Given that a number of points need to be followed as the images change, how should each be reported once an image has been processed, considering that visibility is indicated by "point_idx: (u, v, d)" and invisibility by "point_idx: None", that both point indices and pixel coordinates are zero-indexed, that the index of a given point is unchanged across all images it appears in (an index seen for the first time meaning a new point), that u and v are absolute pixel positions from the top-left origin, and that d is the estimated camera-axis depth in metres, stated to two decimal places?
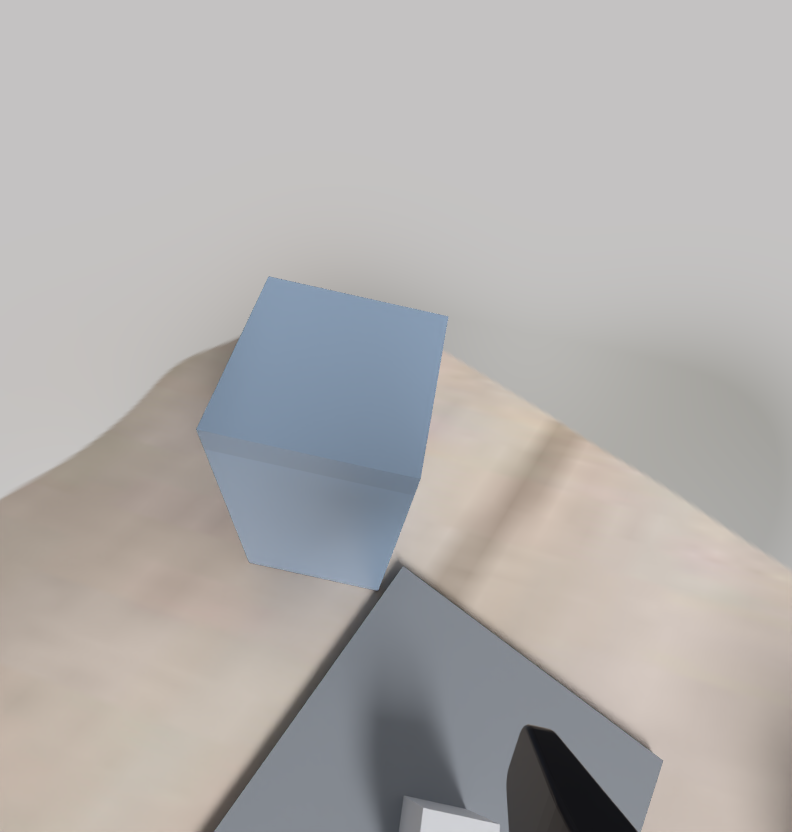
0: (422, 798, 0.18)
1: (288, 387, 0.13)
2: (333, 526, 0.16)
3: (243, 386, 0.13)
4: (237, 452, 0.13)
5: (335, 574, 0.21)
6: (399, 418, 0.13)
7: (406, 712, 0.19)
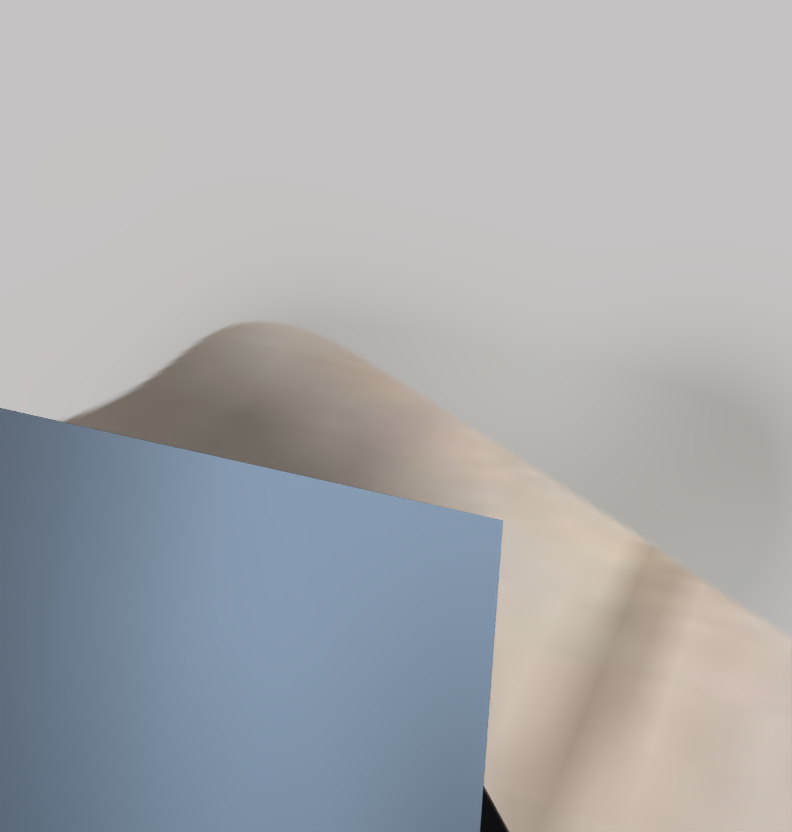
0: None
1: None
2: None
3: None
4: None
5: None
6: None
7: None
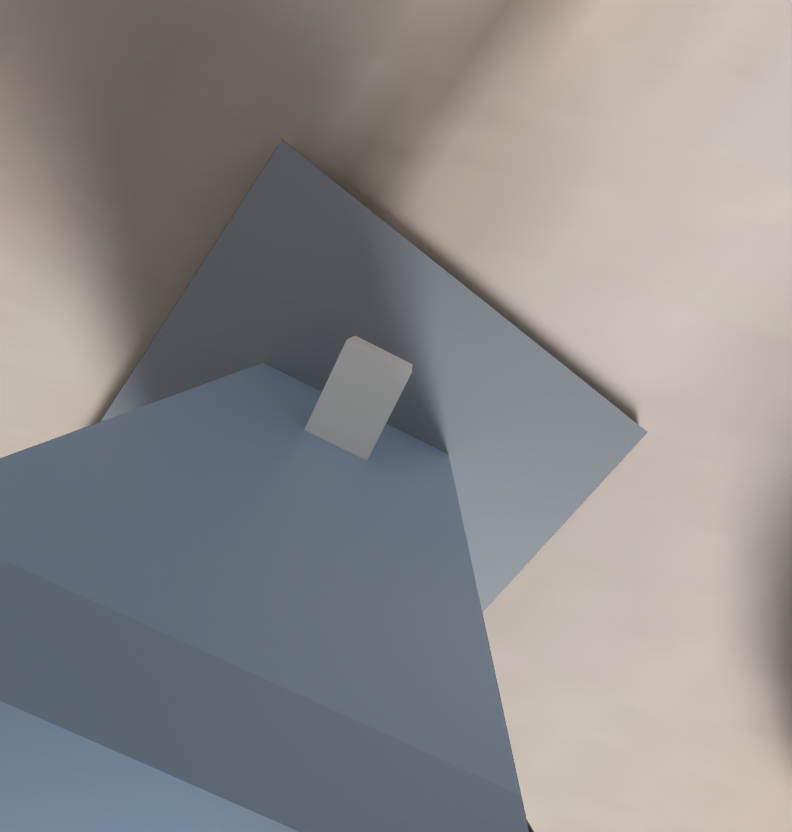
0: None
1: None
2: None
3: None
4: None
5: None
6: None
7: (287, 360, 0.14)
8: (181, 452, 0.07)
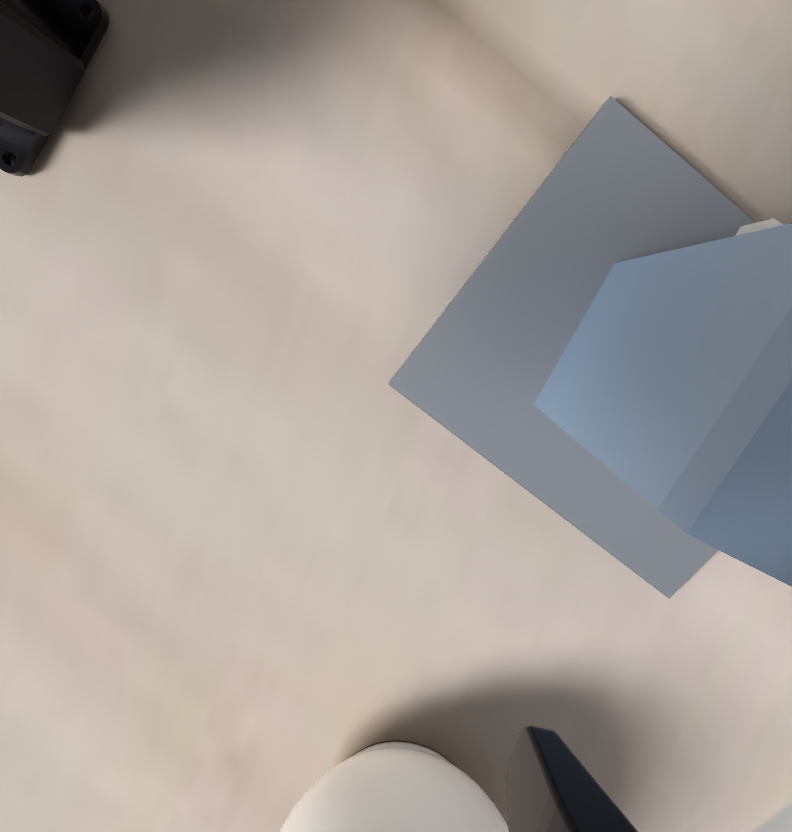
0: None
1: None
2: None
3: (777, 470, 0.08)
4: None
5: None
6: None
7: None
8: None
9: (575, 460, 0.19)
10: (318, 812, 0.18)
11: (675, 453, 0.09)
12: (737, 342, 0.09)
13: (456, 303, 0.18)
